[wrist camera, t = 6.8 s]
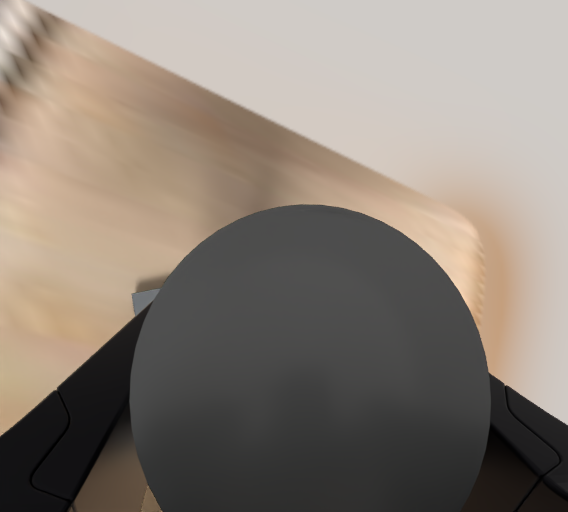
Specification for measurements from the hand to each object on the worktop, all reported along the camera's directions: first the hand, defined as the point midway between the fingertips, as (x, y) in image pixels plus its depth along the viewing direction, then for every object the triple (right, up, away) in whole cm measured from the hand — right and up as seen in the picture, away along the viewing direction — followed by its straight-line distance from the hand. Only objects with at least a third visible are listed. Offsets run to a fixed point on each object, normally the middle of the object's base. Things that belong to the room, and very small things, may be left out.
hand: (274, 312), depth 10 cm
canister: (-1, -3, +6) cm, 7 cm away
